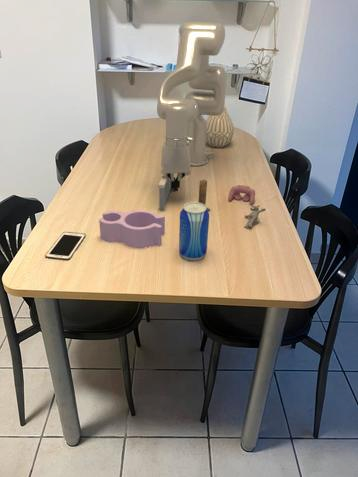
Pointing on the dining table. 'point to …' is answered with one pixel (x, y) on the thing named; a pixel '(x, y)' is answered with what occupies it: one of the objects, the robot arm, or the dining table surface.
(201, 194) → the wooden pegs
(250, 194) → the video game controller
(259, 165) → the dining table surface
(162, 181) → the bar
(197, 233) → the beer can
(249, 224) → the grey animal figurine
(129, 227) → the clip
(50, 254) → the cell phone
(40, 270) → the dining table surface
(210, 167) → the dining table surface
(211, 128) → the vase
